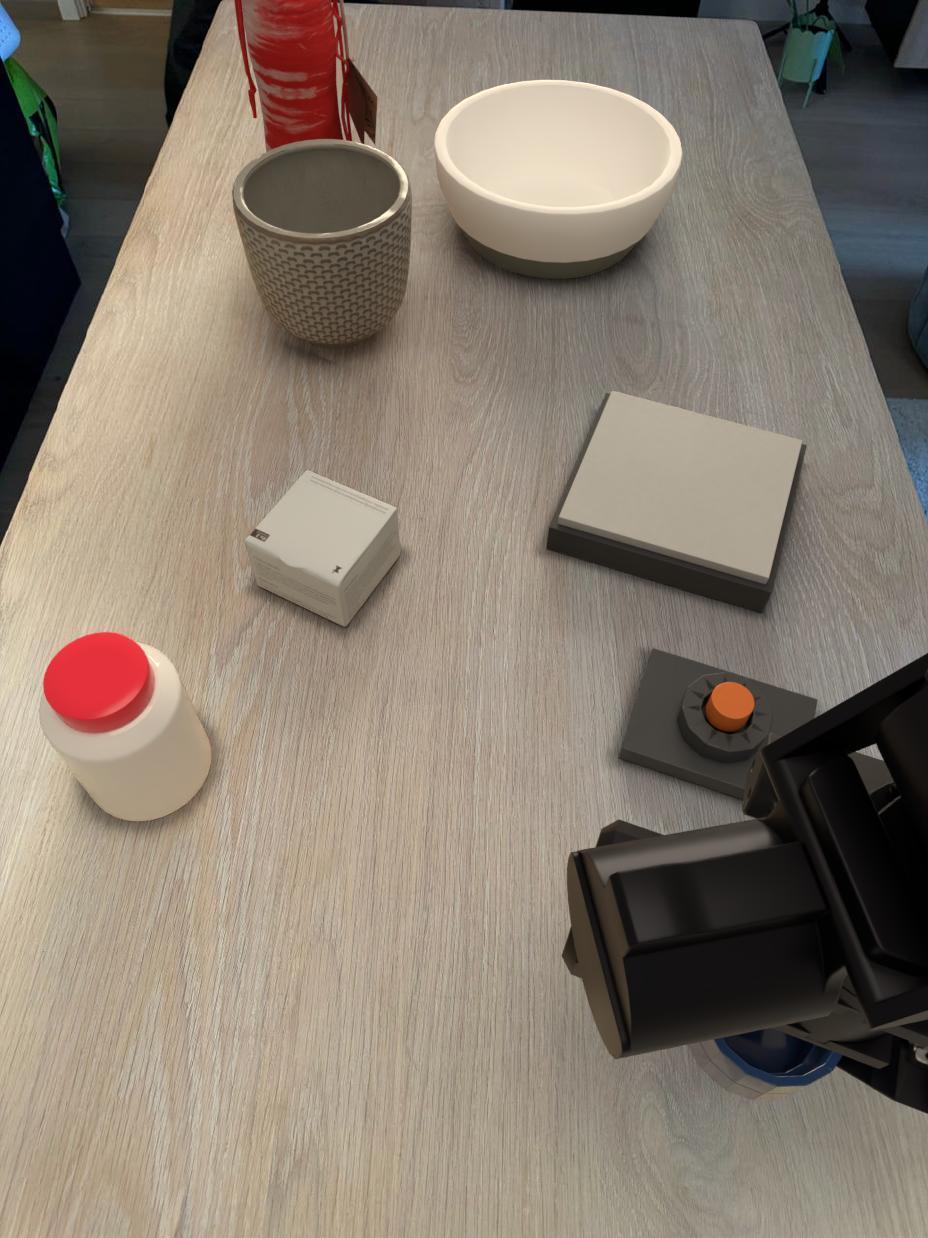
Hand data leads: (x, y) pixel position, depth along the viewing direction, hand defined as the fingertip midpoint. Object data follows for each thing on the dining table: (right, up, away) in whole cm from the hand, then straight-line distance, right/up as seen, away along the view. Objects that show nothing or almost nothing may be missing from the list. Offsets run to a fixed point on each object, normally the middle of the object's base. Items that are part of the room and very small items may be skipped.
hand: (755, 1020), depth 44 cm
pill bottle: (-33, +9, +16) cm, 38 cm away
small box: (-23, +22, +25) cm, 41 cm away
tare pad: (+3, +11, +18) cm, 21 cm away
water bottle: (-27, +58, +50) cm, 81 cm away
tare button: (+3, +13, +16) cm, 20 cm away
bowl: (-5, +57, +49) cm, 75 cm away
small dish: (0, -1, +1) cm, 1 cm away
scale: (+3, +27, +29) cm, 39 cm away
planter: (-25, +45, +40) cm, 65 cm away
